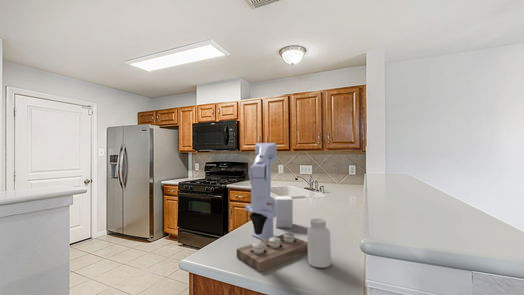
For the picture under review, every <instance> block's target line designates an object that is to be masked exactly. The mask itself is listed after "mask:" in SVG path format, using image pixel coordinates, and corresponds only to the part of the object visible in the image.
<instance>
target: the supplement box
mask: <svg viewBox="0 0 524 295" xmlns="http://www.w3.org/2000/svg"><path fill="white" fill-rule="evenodd" d="M274 199H275V201H276V216H275V217H274V218H275V219H274V223H275V227H276V228H279V229H280V228H283V229H284V228H286V229H287V228H288V229H292V228H293V223H294V222H293V217H294V216H293V212H294V208H293V206H294V204H293V203H294V202H293V198H292V196H280V195H279V196H275V198H274Z"/></svg>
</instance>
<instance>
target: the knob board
mask: <svg viewBox="0 0 524 295" xmlns="http://www.w3.org/2000/svg"><path fill="white" fill-rule="evenodd" d="M284 234H285V233H283V234H280V235H276V238H279V239H280V248H278V249H275V250H274V249H272V248H270V247H269V239H267V240H261V241H259V242H261V243H264V244H265V247H264V254H261V255H258V256H257V255H255V254H253V243H251V244H248V245H244V246H242V247H238V248H236V258H237V259H238V260H241V261H243V262H244V263H246V264H247V265H249V267H252V268H253V269H255V270H257V271H258V272H259V273H260V272H263V271H266V270H267V269H270V268H273V267H275V266H277V265H281V264H282V263H284V262H287V261H289V260H292V259H294V258H296V257H299V256H301V255H304V254H306V253H308V241H305V240H303V239H300V238H297V237H295V236H294V243H292V244H287V243H284V237H283V235H284Z"/></svg>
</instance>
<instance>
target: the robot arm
mask: <svg viewBox="0 0 524 295" xmlns="http://www.w3.org/2000/svg"><path fill="white" fill-rule="evenodd" d="M254 154H255V159H254V161H253V164H252V165H250V167H249V182H250V185H251V186H250V188H251V189H250V195H251V196H250V204H247V205H245V206H244V207H245V209H244V210H245V211H247V212H248V213H251V214H249V218H250V220H251V222H252V225H253V233H252V234H251V235H252V236H253V237H255V238H258V239H259V240H261V241H263V240H267V239H269V238H273V237H276V236H277V235H276V234H274V218H275V216H276V201H275V198H274V197H273V196H271V189H272V188H271V187H272V179H271V178H272V165H273V163H274V162H275V161H276V160H277V143H276V142H256V143H255V146H254Z"/></svg>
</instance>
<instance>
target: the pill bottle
mask: <svg viewBox="0 0 524 295" xmlns="http://www.w3.org/2000/svg"><path fill="white" fill-rule="evenodd" d="M306 234H307V242H308V252H307V260H308V261H307V262H308V263H309V265H310V266H312V267H315V268H318V269H319V268H320V269H323V268H328V267H330V266H331V264H332V255H331V254H332V252H331V251H332V249H331V232H330V230H329V228H328V227H327V222H326V220H325V219H322V218H312V219H310V227H308V229H307V231H306Z"/></svg>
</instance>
